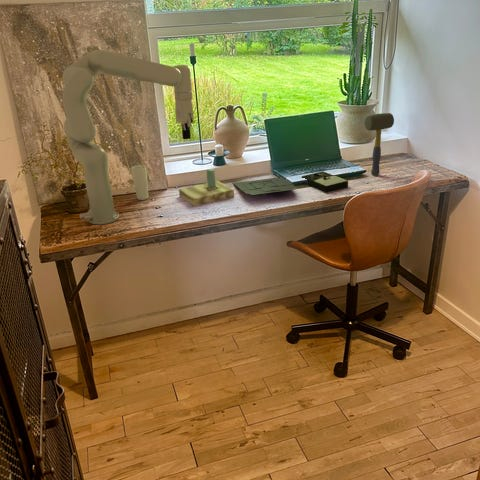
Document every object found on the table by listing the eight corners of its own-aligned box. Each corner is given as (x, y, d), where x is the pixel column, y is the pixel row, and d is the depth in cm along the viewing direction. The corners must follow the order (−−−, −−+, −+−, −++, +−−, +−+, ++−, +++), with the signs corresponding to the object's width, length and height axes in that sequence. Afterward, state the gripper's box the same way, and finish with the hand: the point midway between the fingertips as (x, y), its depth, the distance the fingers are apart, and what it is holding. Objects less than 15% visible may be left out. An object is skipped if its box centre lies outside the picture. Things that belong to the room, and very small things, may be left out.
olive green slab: (194, 206, 208) (193, 199, 207) (179, 196, 221) (178, 189, 219) (234, 196, 217) (233, 189, 215) (217, 187, 230) (217, 180, 228)
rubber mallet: (368, 179, 230) (372, 116, 217) (359, 175, 237) (363, 113, 224) (390, 175, 234) (396, 113, 221) (381, 171, 240) (386, 111, 227)
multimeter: (322, 178, 237) (322, 168, 235) (348, 188, 221) (349, 178, 219) (300, 183, 231) (301, 173, 229) (326, 194, 216) (326, 183, 214)
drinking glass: (136, 201, 217) (131, 170, 211) (135, 197, 223) (130, 166, 216) (151, 199, 218) (146, 168, 212) (149, 195, 224) (145, 164, 218)
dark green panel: (247, 201, 207) (247, 193, 206) (232, 188, 235) (232, 181, 234) (300, 194, 212) (300, 186, 211) (279, 182, 240) (279, 175, 239)
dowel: (210, 197, 218) (208, 171, 213) (206, 194, 221) (205, 170, 216) (217, 195, 220) (216, 170, 214) (214, 193, 223) (212, 168, 217)
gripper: (168, 94, 208) (172, 136, 215) (181, 98, 196) (185, 143, 203) (184, 93, 211) (188, 134, 219) (198, 97, 199) (201, 140, 207)
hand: (186, 138), depth 211 cm, fingers closed
